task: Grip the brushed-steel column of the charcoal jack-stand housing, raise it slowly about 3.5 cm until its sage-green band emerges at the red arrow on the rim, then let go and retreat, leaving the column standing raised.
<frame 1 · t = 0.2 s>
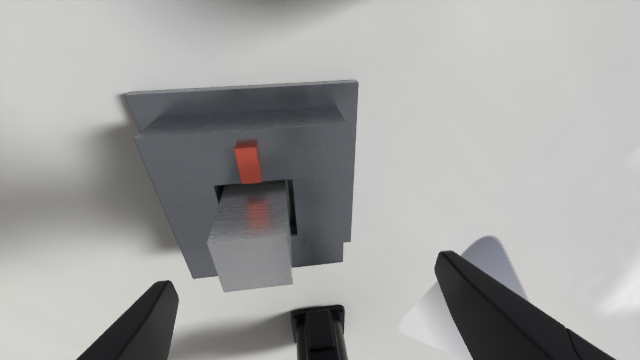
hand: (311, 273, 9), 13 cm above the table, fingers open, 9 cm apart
housing: (262, 178, 23), on the table
column: (258, 218, 18), point 5 cm above the table, slide at 0.0 cm
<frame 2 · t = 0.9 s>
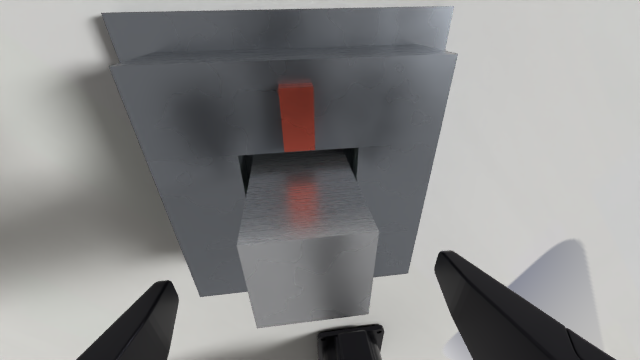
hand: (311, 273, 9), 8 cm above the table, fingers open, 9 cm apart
housing: (297, 157, 16), on the table
column: (303, 208, 12), point 5 cm above the table, slide at 0.0 cm
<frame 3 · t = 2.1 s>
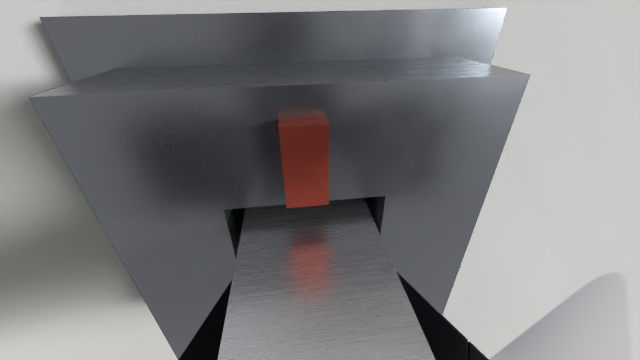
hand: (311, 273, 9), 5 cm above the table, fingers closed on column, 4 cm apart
housing: (301, 191, 13), on the table
column: (311, 272, 9), point 5 cm above the table, slide at 0.0 cm, touching gripper
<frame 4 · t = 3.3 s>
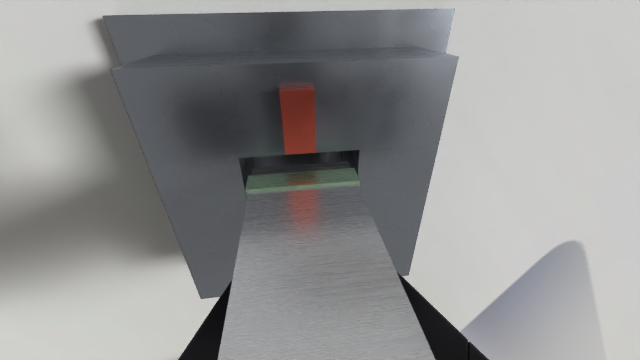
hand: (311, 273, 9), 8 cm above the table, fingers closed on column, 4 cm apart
housing: (298, 159, 16), on the table
column: (311, 272, 9), point 8 cm above the table, slide at 3.4 cm, touching gripper
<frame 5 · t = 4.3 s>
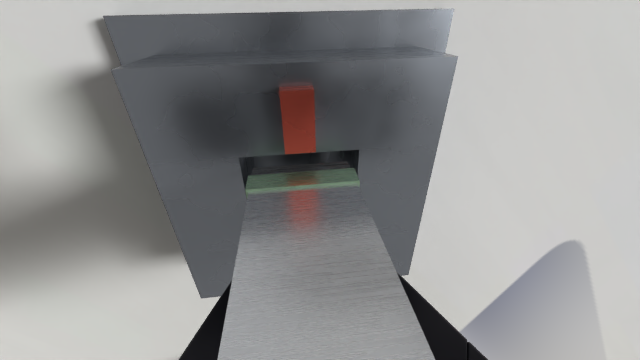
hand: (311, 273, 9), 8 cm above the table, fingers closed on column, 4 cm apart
housing: (298, 159, 16), on the table
column: (311, 272, 9), point 8 cm above the table, slide at 3.4 cm, touching gripper
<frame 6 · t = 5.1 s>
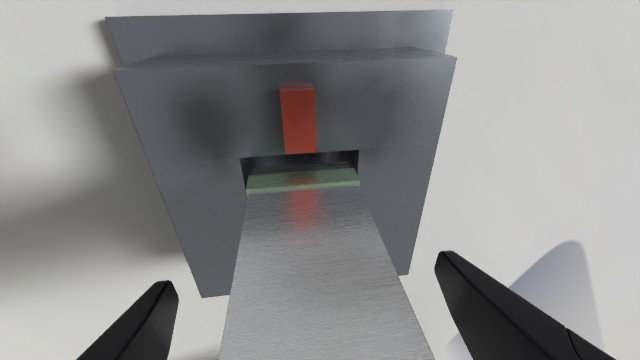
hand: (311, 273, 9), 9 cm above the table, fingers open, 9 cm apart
housing: (298, 159, 16), on the table
column: (311, 271, 9), point 8 cm above the table, slide at 3.4 cm
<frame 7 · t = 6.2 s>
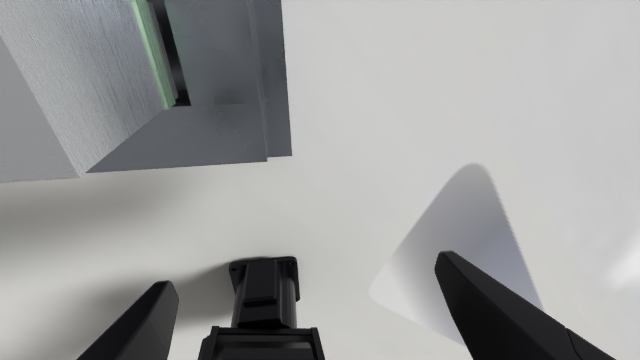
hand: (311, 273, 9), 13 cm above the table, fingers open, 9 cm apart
housing: (157, 45, 16), on the table
column: (61, 70, 9), point 8 cm above the table, slide at 3.4 cm
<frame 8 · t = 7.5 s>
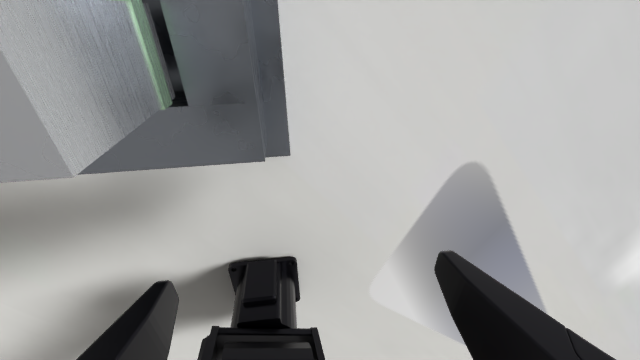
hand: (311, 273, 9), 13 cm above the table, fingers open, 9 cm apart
housing: (155, 46, 16), on the table
column: (57, 71, 9), point 8 cm above the table, slide at 3.4 cm
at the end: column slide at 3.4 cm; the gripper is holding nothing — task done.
